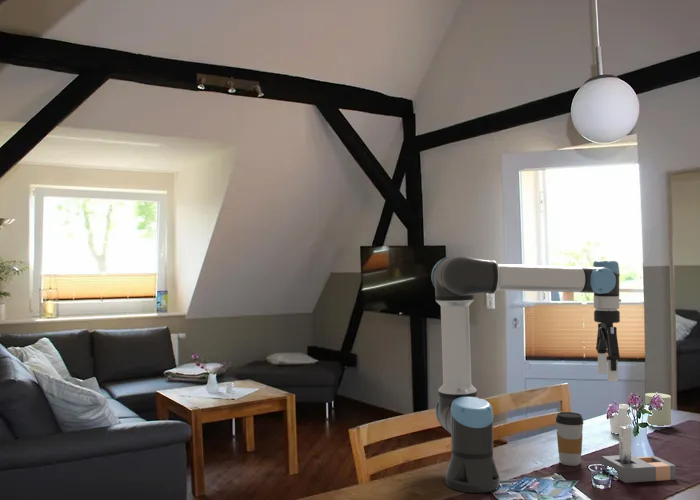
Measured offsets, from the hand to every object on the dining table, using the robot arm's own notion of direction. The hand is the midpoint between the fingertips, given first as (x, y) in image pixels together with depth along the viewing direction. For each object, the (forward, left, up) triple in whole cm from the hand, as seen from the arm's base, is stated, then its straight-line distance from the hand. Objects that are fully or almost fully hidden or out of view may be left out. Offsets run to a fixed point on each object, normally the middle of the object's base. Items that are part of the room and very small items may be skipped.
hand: (607, 377), depth 202 cm
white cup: (+24, +31, -27) cm, 48 cm away
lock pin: (-2, -12, -27) cm, 29 cm away
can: (+45, +39, -27) cm, 66 cm away
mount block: (+2, -12, -27) cm, 29 cm away
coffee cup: (-12, +2, -27) cm, 29 cm away
